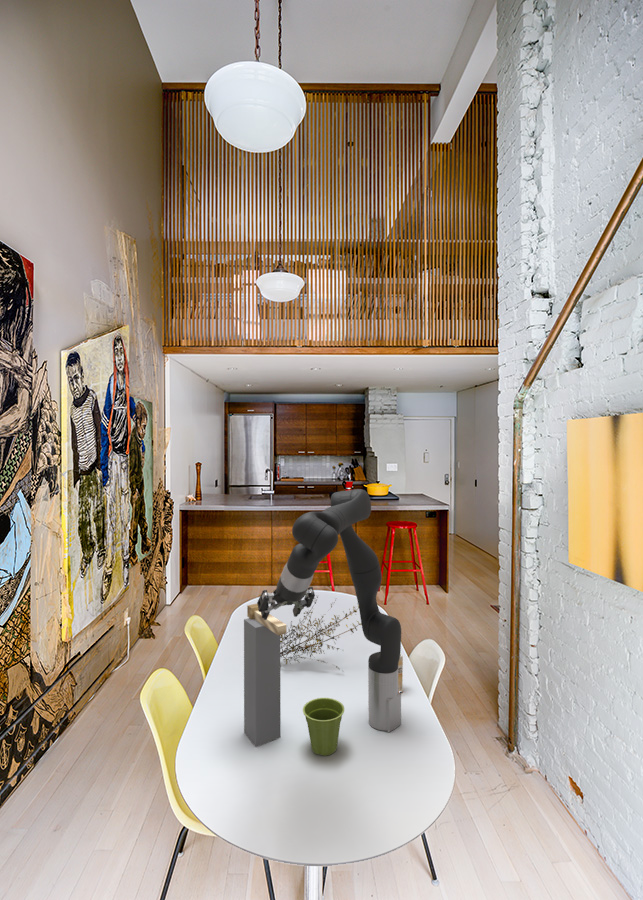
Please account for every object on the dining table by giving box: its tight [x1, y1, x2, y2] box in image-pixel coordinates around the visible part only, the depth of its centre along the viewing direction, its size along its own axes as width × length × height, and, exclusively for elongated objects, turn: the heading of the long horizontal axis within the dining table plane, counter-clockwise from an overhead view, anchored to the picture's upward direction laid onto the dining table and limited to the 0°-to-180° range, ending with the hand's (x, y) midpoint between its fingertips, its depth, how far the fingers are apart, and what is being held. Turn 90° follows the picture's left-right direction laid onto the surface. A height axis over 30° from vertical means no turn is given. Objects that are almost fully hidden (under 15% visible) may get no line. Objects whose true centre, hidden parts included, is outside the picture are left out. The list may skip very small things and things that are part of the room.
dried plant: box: [280, 596, 362, 672], centre depth 182 cm, size 30×31×45 cm
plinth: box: [243, 617, 281, 748], centre depth 136 cm, size 8×8×34 cm
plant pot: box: [302, 697, 345, 757], centre depth 130 cm, size 12×12×11 cm
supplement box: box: [398, 653, 404, 692], centre depth 161 cm, size 8×5×13 cm, turn 105°
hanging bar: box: [246, 603, 288, 636], centre depth 134 cm, size 18×4×3 cm, turn 34°
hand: (279, 615), depth 123 cm, fingers open, 8 cm apart
